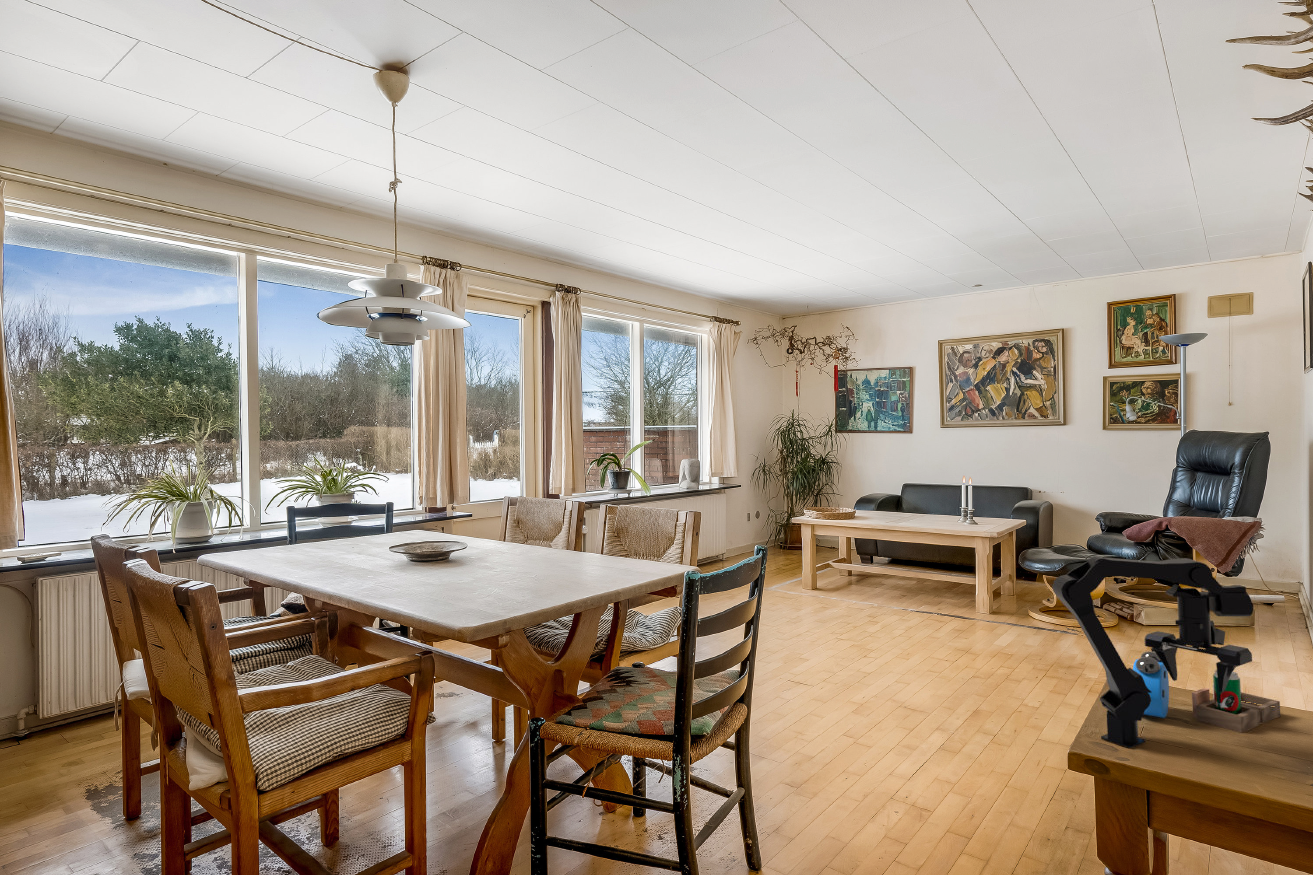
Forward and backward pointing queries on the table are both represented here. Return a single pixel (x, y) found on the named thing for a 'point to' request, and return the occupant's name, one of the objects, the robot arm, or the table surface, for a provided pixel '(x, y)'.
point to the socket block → (1240, 722)
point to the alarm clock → (1154, 682)
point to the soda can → (1228, 695)
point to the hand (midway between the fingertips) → (1197, 685)
